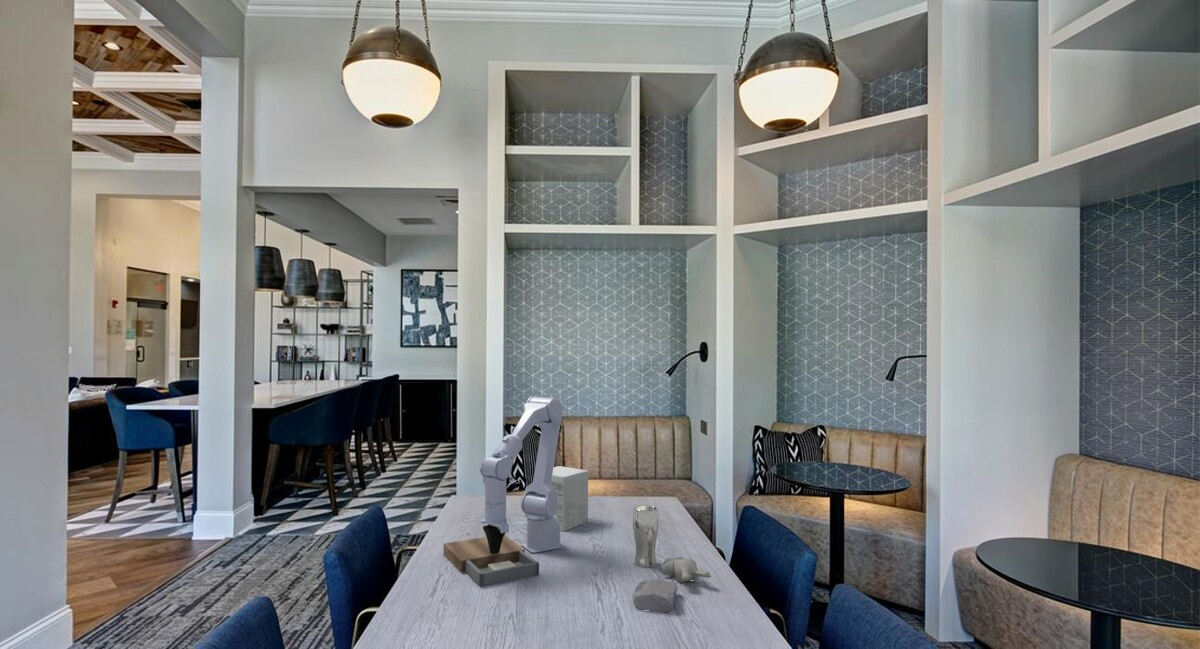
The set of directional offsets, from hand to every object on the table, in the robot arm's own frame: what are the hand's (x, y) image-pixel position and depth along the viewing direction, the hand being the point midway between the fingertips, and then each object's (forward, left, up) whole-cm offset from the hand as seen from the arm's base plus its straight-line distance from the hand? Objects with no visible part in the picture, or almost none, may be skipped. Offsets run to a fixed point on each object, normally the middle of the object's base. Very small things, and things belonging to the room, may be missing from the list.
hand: (494, 553), depth 164 cm
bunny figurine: (-39, +32, -4) cm, 51 cm away
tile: (0, +7, -1) cm, 7 cm away
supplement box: (-34, -28, -4) cm, 44 cm away
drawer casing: (0, -9, -4) cm, 9 cm away
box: (0, +5, -4) cm, 7 cm away
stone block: (-25, +39, -4) cm, 46 cm away
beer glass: (-37, +17, -4) cm, 41 cm away
